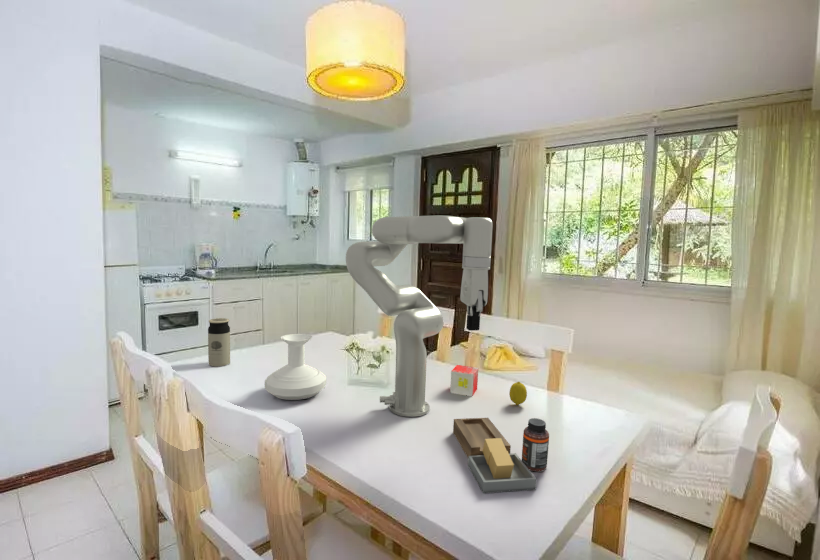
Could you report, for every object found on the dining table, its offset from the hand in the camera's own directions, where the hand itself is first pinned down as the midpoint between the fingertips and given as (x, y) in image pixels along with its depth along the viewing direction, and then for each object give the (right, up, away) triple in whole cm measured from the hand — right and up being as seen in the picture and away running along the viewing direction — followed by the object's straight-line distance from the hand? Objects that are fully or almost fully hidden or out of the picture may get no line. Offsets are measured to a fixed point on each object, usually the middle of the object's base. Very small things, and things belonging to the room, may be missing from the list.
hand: (472, 329), depth 118 cm
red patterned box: (+2, -26, +34) cm, 43 cm away
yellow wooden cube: (+3, -28, -18) cm, 33 cm away
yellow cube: (+3, -29, -16) cm, 33 cm away
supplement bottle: (+13, -32, -14) cm, 37 cm away
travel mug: (-94, -20, +54) cm, 110 cm away
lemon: (+18, -28, +23) cm, 40 cm away
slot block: (+1, -30, -6) cm, 30 cm away
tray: (+3, -32, -20) cm, 37 cm away
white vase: (-56, -25, +26) cm, 66 cm away
